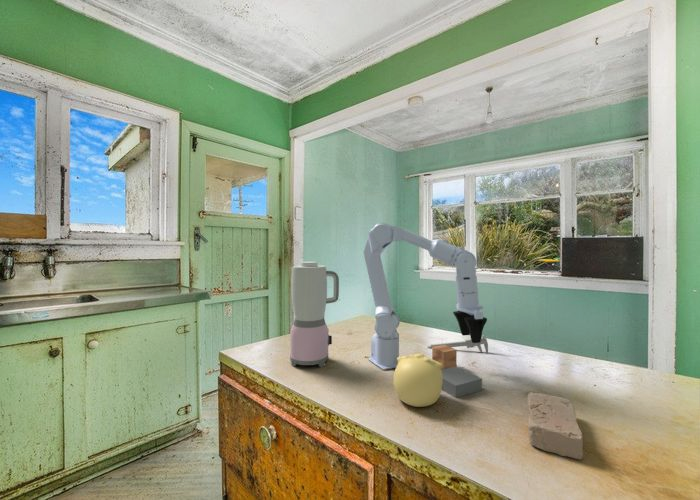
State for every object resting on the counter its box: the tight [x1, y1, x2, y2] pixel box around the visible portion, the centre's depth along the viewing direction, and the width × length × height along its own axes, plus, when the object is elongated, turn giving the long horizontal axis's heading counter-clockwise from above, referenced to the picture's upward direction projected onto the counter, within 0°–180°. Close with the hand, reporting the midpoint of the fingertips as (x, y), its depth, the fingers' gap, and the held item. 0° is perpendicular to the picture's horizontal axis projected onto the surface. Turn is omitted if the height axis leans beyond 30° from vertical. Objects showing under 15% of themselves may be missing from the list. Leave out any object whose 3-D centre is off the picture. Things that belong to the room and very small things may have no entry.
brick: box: [527, 392, 584, 460], centre depth 63 cm, size 17×8×5 cm, turn 151°
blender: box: [289, 261, 340, 368], centre depth 100 cm, size 16×12×32 cm
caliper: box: [426, 334, 489, 354], centre depth 110 cm, size 20×1×6 cm, turn 75°
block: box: [431, 345, 458, 370], centre depth 95 cm, size 5×5×6 cm
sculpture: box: [392, 352, 443, 408], centre depth 75 cm, size 12×12×11 cm
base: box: [441, 365, 483, 399], centre depth 82 cm, size 9×9×3 cm
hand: (470, 338), depth 90 cm, fingers open, 7 cm apart
